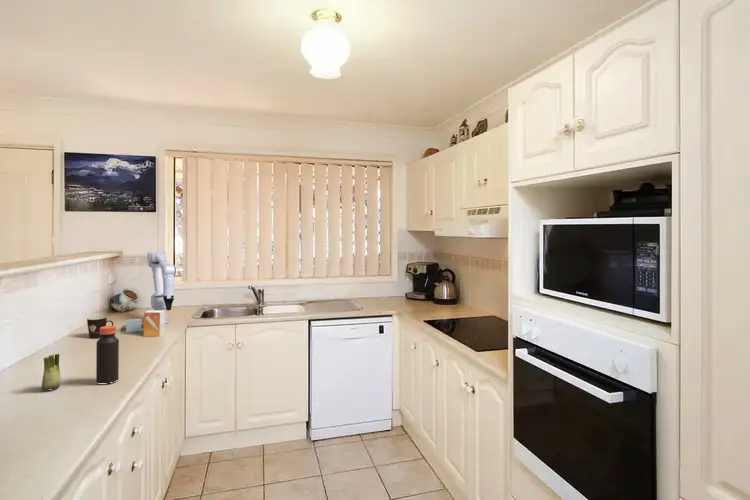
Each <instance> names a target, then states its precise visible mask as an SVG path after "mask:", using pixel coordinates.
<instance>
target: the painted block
mask: <svg viewBox="0 0 750 500" xmlns="http://www.w3.org/2000/svg"><path fill="white" fill-rule="evenodd" d="M141 324H142V318H133V319H131V318H129V319H126V320H125V325H126V332H131V331H141Z"/></svg>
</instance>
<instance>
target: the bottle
mask: <svg viewBox="0 0 750 500" xmlns="http://www.w3.org/2000/svg"><path fill="white" fill-rule="evenodd" d="M116 330H117V327H116V325H113V326H112V325H106V326H104V327H100V336H101V338H98V340H97V341H96V343H95V344H96V354H95V355H96V356H95V357H96V362H95V363H96V364H95V365H96V369H95V371H96V373H95V374H96V375H95V376H96V377H95V378H96V381H95V383H96V382H97V383H110V382H114V381H116V380H118V381H119V377H120V376H119V372H120V371H119V367H120V366H119V363H120V361H119V358H120V356H119V353H120V352H119V351H120V349H119V348H120V347H119V346H120V344H119V343H120V340H119V338H118V337H116V336H115V335H116V333H117V331H116ZM97 383H96V384H97Z"/></svg>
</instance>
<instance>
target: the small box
mask: <svg viewBox="0 0 750 500" xmlns="http://www.w3.org/2000/svg"><path fill="white" fill-rule="evenodd" d="M143 324H144V332H143V337H146V338H147V337H149V338H150V337H151V338H152V337H155V338H157V337H158V338H159V337H162V336H163V335H164V334H165V323H164V310H154V309H153V310H151V309H150V310H147V311H145V312H143Z"/></svg>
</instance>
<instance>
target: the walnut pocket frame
mask: <svg viewBox="0 0 750 500" xmlns="http://www.w3.org/2000/svg"><path fill="white" fill-rule="evenodd" d="M143 328H144V323H141V329H143ZM122 330H126V324H124V325H122V327H121V331H122Z"/></svg>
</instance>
